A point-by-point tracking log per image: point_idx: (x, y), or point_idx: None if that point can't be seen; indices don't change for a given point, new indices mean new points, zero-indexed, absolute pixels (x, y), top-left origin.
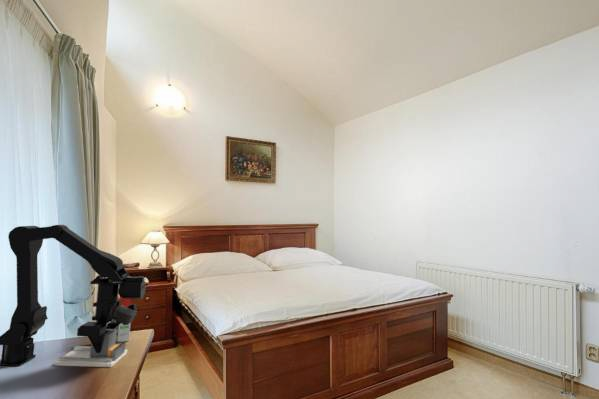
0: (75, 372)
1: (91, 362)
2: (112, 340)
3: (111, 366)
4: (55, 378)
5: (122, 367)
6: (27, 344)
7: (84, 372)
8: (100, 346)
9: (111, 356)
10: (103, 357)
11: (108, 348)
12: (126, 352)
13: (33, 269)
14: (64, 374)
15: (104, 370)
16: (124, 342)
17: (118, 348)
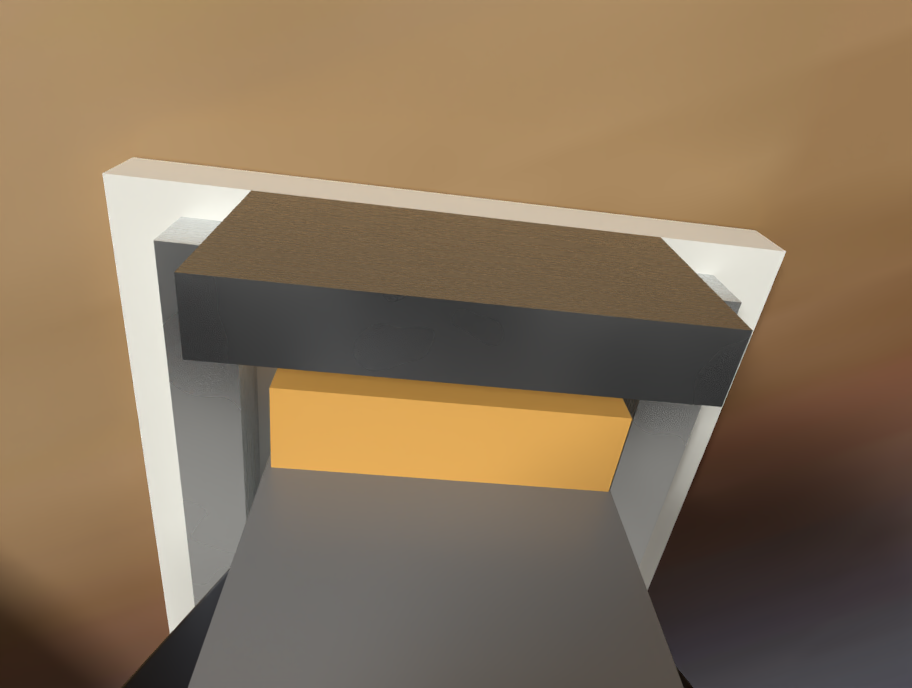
0: (778, 568)
1: (654, 528)
2: (426, 612)
3: (750, 232)
4: (860, 656)
5: (829, 16)
6: None
7: (814, 492)
8: (686, 680)
9: None
10: (651, 449)
11: (593, 512)
12: (168, 166)
13: None
14: (793, 630)
15: (844, 288)
16: (179, 298)
17: (612, 312)
